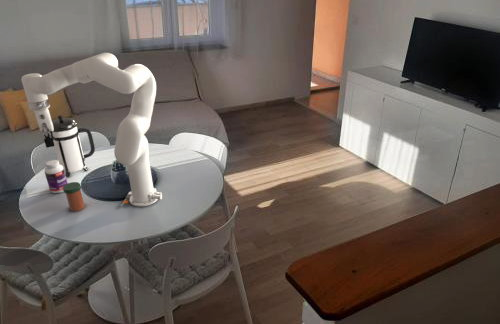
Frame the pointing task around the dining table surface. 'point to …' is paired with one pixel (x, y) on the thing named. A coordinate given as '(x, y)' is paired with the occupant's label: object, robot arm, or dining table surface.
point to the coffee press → (70, 145)
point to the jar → (75, 201)
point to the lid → (71, 187)
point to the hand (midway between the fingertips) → (50, 142)
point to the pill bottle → (55, 176)
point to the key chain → (127, 197)
